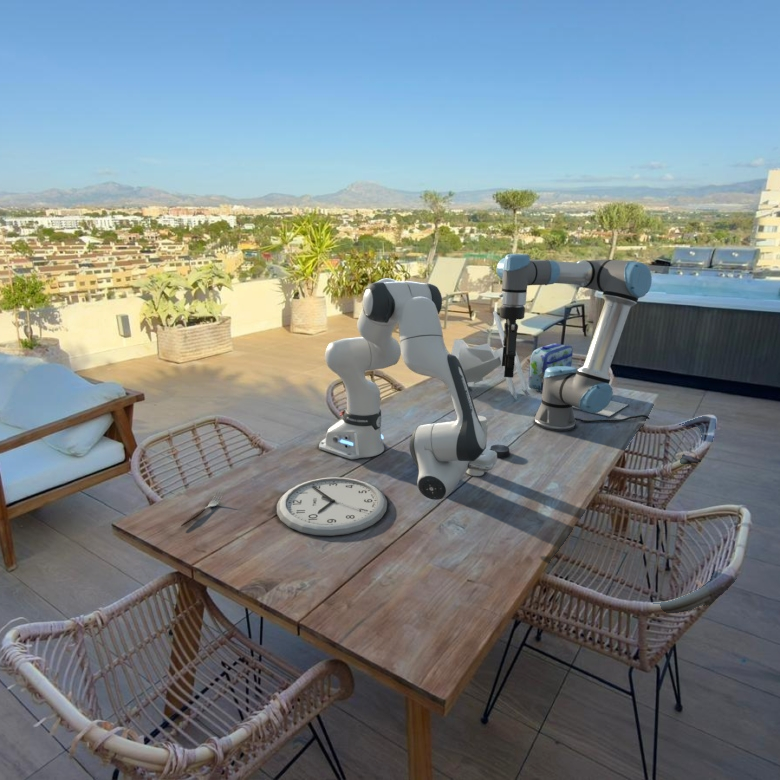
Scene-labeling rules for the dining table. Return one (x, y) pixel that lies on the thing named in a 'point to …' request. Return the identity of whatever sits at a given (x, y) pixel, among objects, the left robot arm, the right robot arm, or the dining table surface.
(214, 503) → the fork
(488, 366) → the white plastic object
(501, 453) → the lid
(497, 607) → the dining table surface
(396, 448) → the dining table surface
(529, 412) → the dining table surface
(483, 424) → the white cylindrical tube
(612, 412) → the invitation card
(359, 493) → the wall clock
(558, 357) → the lunch box
